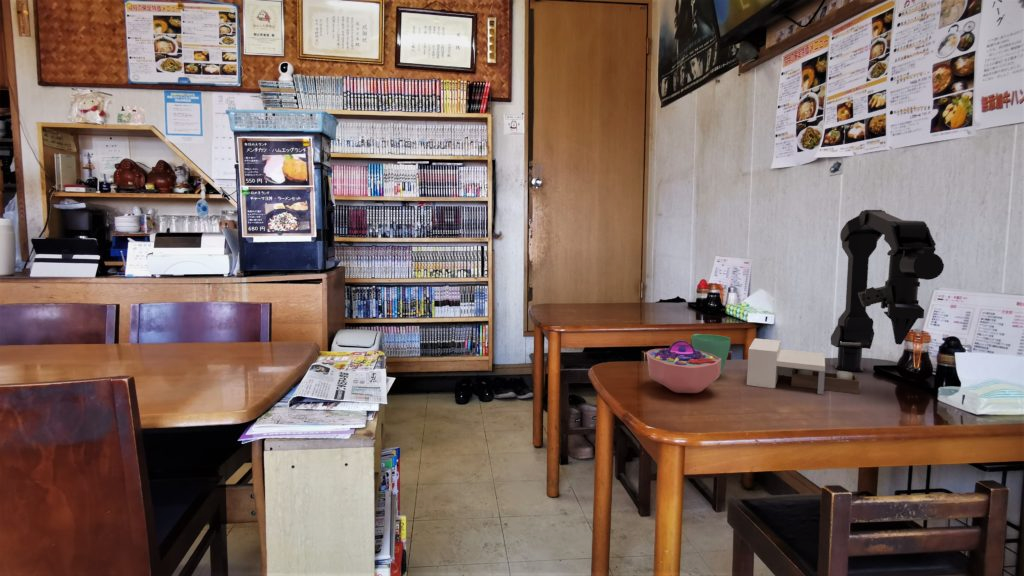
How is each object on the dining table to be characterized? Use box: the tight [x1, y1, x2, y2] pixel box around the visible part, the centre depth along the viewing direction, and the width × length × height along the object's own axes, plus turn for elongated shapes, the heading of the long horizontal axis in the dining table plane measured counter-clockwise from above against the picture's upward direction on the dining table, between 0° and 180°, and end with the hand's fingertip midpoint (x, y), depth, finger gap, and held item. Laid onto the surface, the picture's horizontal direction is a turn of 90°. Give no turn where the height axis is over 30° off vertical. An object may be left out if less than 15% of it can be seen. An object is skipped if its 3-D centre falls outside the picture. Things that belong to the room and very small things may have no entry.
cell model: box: [645, 339, 721, 394], centre depth 132 cm, size 17×20×11 cm
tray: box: [791, 368, 860, 395], centre depth 137 cm, size 6×14×4 cm, turn 62°
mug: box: [690, 333, 732, 377], centre depth 149 cm, size 15×10×10 cm
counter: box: [746, 337, 826, 395], centre depth 141 cm, size 16×16×9 cm
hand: (898, 344), depth 130 cm, fingers closed
